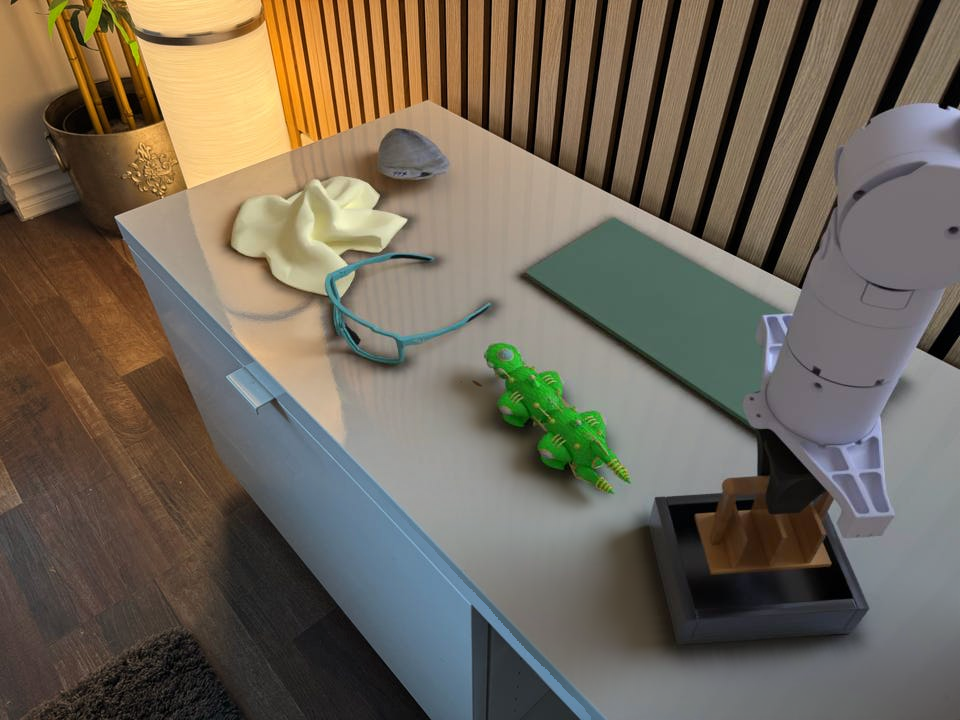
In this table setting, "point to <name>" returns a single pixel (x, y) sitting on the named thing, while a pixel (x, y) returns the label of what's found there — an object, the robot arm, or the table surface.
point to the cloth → (314, 231)
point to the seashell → (410, 156)
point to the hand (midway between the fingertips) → (779, 497)
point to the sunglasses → (353, 337)
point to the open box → (748, 584)
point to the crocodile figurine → (553, 417)
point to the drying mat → (663, 309)
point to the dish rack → (761, 532)
